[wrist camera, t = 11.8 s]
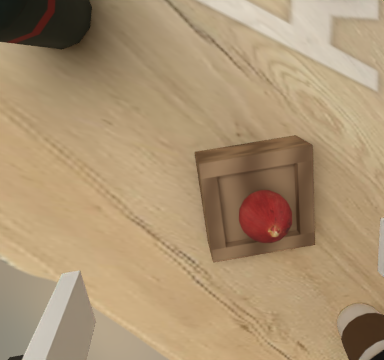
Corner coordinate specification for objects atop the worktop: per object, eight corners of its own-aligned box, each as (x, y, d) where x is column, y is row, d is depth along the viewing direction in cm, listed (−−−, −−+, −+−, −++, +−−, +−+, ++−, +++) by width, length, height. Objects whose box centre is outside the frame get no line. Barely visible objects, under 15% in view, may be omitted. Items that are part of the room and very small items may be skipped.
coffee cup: (338, 355, 56) (382, 428, 45) (310, 313, 53) (350, 381, 42) (397, 323, 55) (458, 391, 44) (373, 277, 52) (432, 339, 40)
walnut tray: (295, 135, 43) (312, 145, 38) (299, 225, 47) (314, 244, 42) (194, 152, 43) (198, 164, 38) (207, 241, 47) (213, 262, 42)
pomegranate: (287, 189, 41) (316, 219, 33) (267, 229, 43) (289, 266, 35) (245, 174, 40) (264, 201, 32) (225, 215, 41) (239, 250, 34)
